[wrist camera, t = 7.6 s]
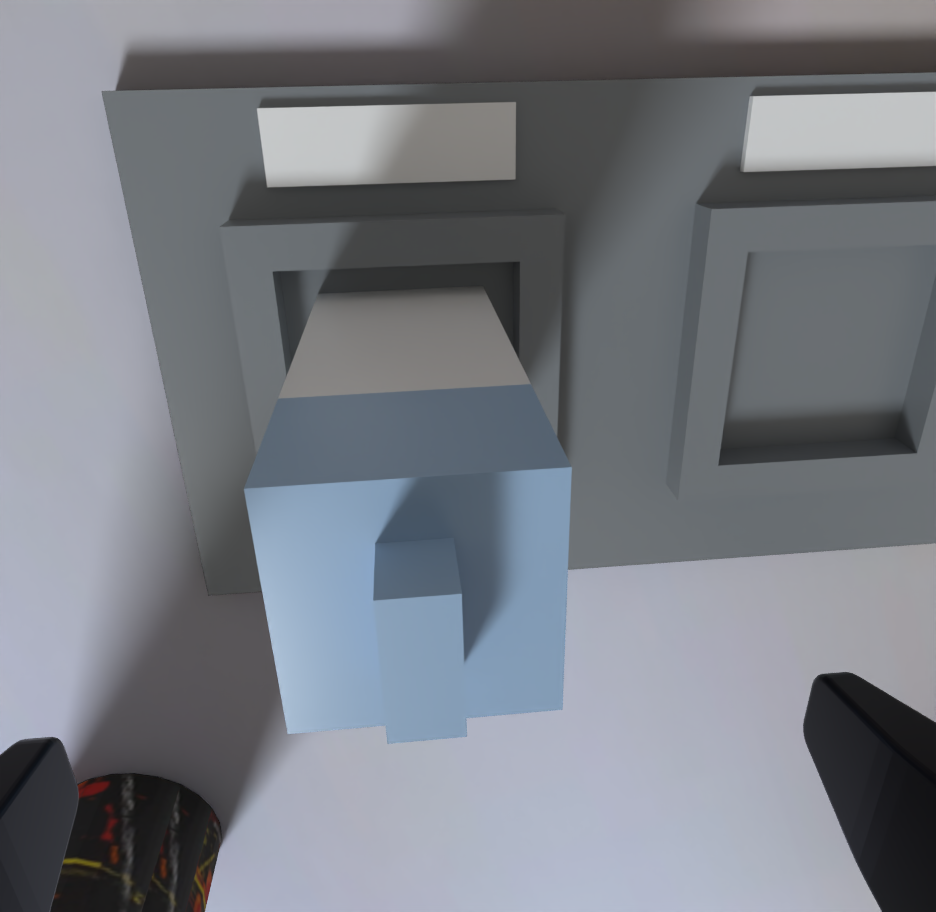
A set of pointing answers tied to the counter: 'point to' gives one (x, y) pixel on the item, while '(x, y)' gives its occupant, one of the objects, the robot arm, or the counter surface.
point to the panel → (574, 286)
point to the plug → (411, 521)
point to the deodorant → (138, 848)
